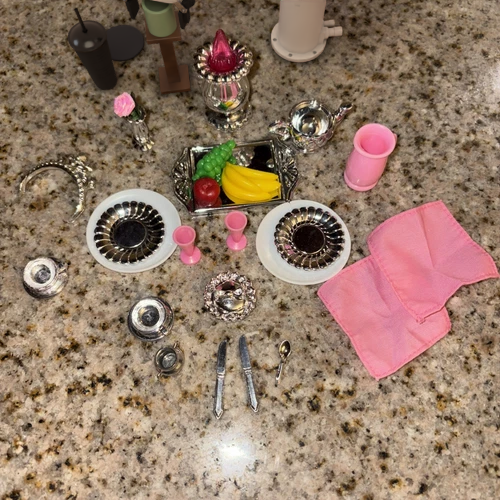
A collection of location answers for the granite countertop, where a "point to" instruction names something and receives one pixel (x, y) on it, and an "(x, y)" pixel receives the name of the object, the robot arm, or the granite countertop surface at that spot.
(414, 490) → the granite countertop surface
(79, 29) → the drinking cup
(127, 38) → the coaster
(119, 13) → the granite countertop surface
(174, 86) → the stand
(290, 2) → the robot arm
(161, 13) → the sage cup
